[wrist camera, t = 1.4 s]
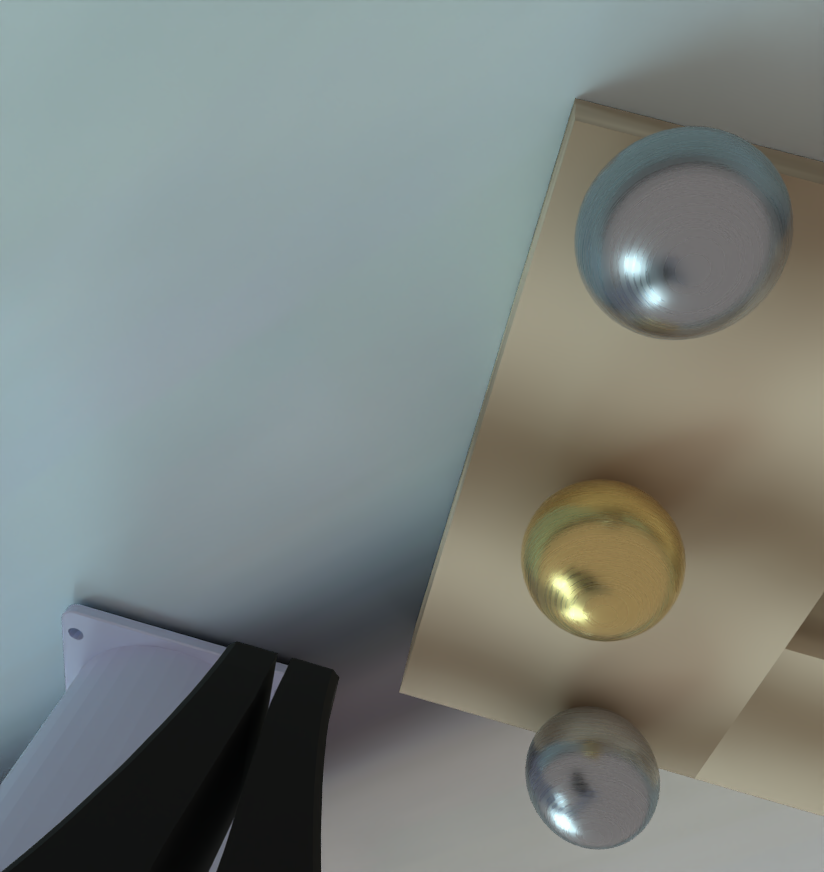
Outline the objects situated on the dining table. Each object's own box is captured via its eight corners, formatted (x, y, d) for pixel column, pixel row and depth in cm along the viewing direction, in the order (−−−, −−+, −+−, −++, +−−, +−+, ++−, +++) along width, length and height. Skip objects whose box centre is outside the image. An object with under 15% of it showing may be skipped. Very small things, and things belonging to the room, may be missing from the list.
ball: (643, 584, 18) (655, 695, 15) (508, 546, 18) (496, 649, 15) (701, 473, 16) (726, 577, 13) (549, 432, 16) (545, 525, 13)
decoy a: (628, 774, 21) (635, 892, 18) (514, 741, 21) (505, 854, 19) (673, 700, 19) (689, 819, 17) (549, 664, 20) (545, 776, 17)
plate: (911, 769, 23) (945, 852, 21) (415, 626, 23) (399, 692, 21) (1356, 299, 14) (1488, 356, 12) (574, 98, 15) (575, 119, 13)
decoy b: (720, 317, 14) (754, 399, 12) (550, 271, 14) (545, 342, 12) (803, 137, 13) (865, 186, 10) (610, 87, 13) (620, 122, 10)
